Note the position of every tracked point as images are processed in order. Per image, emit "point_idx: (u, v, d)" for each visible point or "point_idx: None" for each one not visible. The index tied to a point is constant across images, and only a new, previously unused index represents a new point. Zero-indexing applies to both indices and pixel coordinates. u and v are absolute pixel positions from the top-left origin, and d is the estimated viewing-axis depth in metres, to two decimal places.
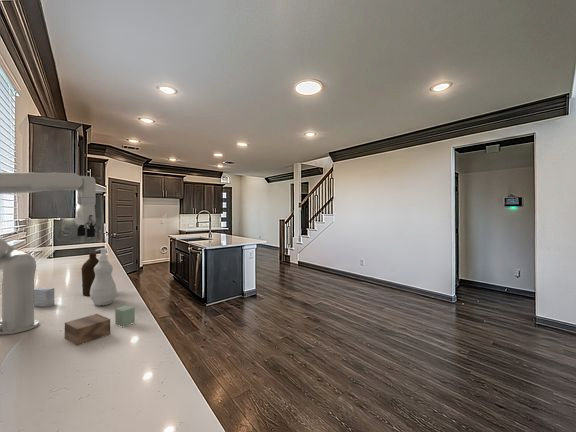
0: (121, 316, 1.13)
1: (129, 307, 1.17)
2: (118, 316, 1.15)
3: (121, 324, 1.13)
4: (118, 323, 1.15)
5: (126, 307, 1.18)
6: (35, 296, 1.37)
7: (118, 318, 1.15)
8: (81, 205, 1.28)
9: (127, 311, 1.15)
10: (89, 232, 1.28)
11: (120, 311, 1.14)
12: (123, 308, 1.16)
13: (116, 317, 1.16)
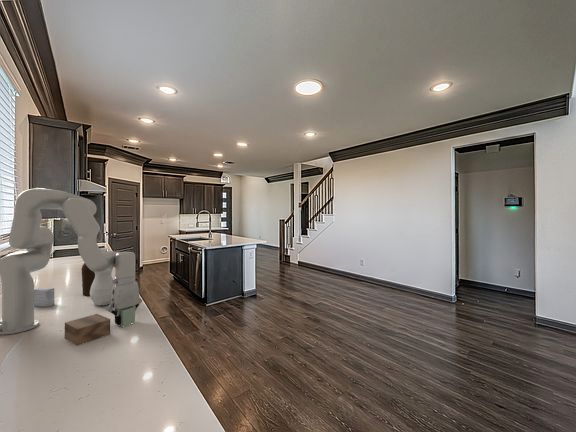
0: (122, 315, 1.13)
1: (129, 307, 1.17)
2: None
3: (121, 324, 1.13)
4: None
5: None
6: (35, 296, 1.37)
7: None
8: (132, 285, 1.17)
9: (127, 311, 1.15)
10: None
11: None
12: (124, 308, 1.16)
13: None
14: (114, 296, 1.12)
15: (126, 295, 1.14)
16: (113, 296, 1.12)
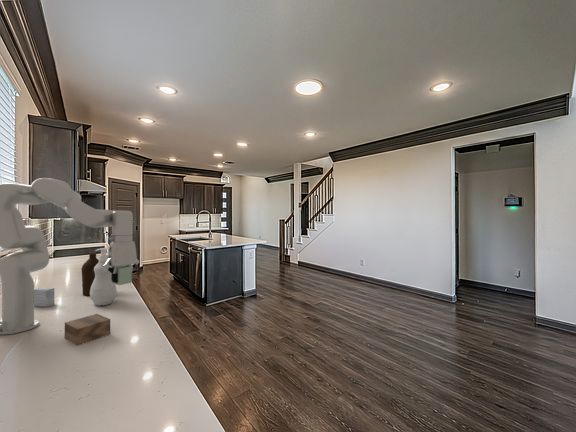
0: (118, 273, 1.12)
1: (126, 266, 1.16)
2: None
3: (118, 282, 1.12)
4: None
5: (123, 266, 1.17)
6: (35, 296, 1.37)
7: None
8: (129, 243, 1.15)
9: (124, 269, 1.13)
10: None
11: (117, 269, 1.13)
12: (120, 266, 1.15)
13: None
14: (111, 253, 1.10)
15: (123, 253, 1.13)
16: (110, 253, 1.11)
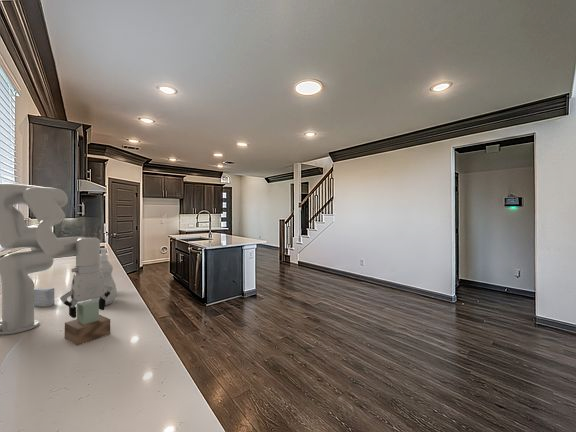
0: (83, 311, 1.01)
1: (93, 302, 1.05)
2: (79, 312, 1.03)
3: (82, 321, 1.01)
4: (79, 320, 1.03)
5: (90, 302, 1.06)
6: (35, 296, 1.37)
7: (79, 314, 1.03)
8: (96, 274, 1.05)
9: (89, 306, 1.03)
10: (104, 304, 1.09)
11: (81, 306, 1.02)
12: (86, 303, 1.04)
13: (78, 313, 1.04)
14: (74, 286, 1.00)
15: (88, 286, 1.02)
16: (73, 286, 1.00)
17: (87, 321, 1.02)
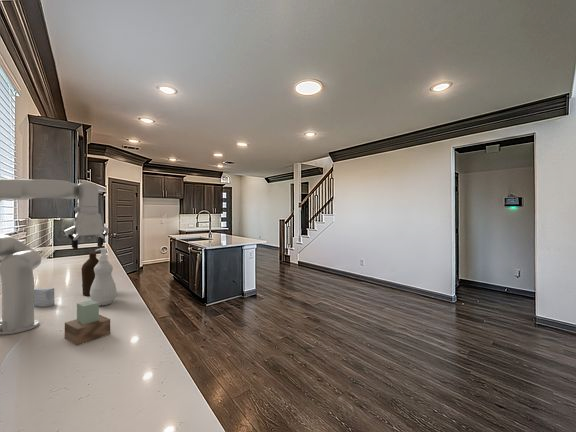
0: (83, 311, 1.01)
1: (93, 302, 1.05)
2: (79, 312, 1.03)
3: (82, 321, 1.01)
4: (79, 320, 1.03)
5: (90, 302, 1.06)
6: (35, 296, 1.37)
7: (79, 314, 1.03)
8: (95, 214, 1.22)
9: (89, 306, 1.03)
10: (102, 242, 1.26)
11: (81, 306, 1.02)
12: (86, 303, 1.04)
13: (78, 313, 1.04)
14: (76, 222, 1.17)
15: (88, 223, 1.19)
16: (75, 223, 1.17)
17: (87, 321, 1.02)
